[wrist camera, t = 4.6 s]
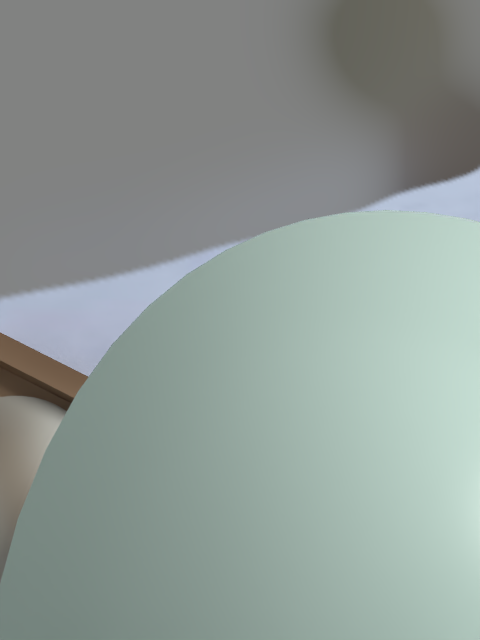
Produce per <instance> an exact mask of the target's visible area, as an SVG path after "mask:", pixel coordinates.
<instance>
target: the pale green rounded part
mask: <svg viewBox="0 0 480 640" xmlns="http://www.w3.org/2000/svg"><path fill="white" fill-rule="evenodd" d="M0 640H480V222H477V221H473V220H469V219H465V218H458V217H452V216H446V215H440V214H433V213H427V212H409V211H390V210H383V211H365V212H348V213H341V214H335V215H330V216H324V217H319V218H313V219H307V220H303V221H300V222H297V223H294V224H290V225H287V226H284V227H281V228H277V229H275V230H271V231H268V232H265V233H263V234H260V235H258V236H256V237H254V238H252V239H249V240H247V241H245V242H243V243H241V244H238V245H236V246H234V247H232V248H230V249H227V250H225V251H224V252H222V253H221V254H219V255H217V256H216V257H214V258H212V259H211V260H209V261H208V262H206V263H204V264H203V265H201V266H200V267H198V268H196V269H195V270H193V271H192V272H190V273H188V274H187V275H186V276H184V277H183V278H182V279H181V280H179V281H178V282H177V283H176V284H175V285H173V286H172V287H171V288H170V289H168V290H167V291H166V292H165V293H164V294H162V295H161V296H160V297H159V298H157V299H156V300H155V301H154V302H153V303H151V304H150V305H149V306H148V307H147V308H146V309H145V310H144V311H143V312H142V313H141V314H140V315H139V317H138V318H137V319H136V320H135V321H134V322H133V323H132V324H131V325H130V326H129V327H128V328H127V329H126V330H125V331H124V332H123V334H122V335H121V336H120V337H119V338H118V339H117V340H116V341H115V342H114V343H113V344H112V345H111V347H110V348H109V350H108V351H107V352H106V354H105V355H104V356H103V358H102V359H101V361H100V362H99V363H98V365H97V366H96V367H95V369H94V370H93V372H92V373H91V374H90V376H89V377H88V378H87V380H86V381H85V383H84V384H83V385H82V387H81V388H80V390H79V391H78V392H77V394H76V396H75V398H74V400H73V401H72V403H71V405H70V407H69V409H68V410H67V412H66V414H65V416H64V418H63V419H62V421H61V423H60V425H59V427H58V429H57V430H56V432H55V434H54V436H53V438H52V439H51V441H50V443H49V445H48V447H47V448H46V450H45V453H44V455H43V458H42V460H41V463H40V465H39V468H38V470H37V473H36V475H35V478H34V480H33V483H32V485H31V487H30V490H29V492H28V495H27V497H26V500H25V502H24V505H23V507H22V510H21V512H20V515H19V517H18V520H17V524H16V527H15V531H14V535H13V538H12V542H11V546H10V549H9V553H8V557H7V560H6V564H5V567H4V571H3V575H2V578H1V582H0Z"/></svg>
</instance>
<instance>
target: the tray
mask: <svg viewBox="0 0 480 640" xmlns="http://www.w3.org/2000/svg"><path fill="white" fill-rule="evenodd" d="M87 378H88V376H86V375H84V374H82V373H80V372H78V371H76V370H74V369H72V368H70V367H68V366H66V365H64V364H62V363H60V362H58V361H56V360H54V359H52V358H50V357H48V356H46V355H44V354H42V353H40V352H38V351H36V350H34V349H32V348H30V347H28V346H26V345H24V344H22V343H20V342H18V341H16V340H14V339H12V338H10V337H8V336H6V335H4V334H2V333H0V582H1V578H2V575H3V571H4V567H5V564H6V560H7V557H8V553H9V549H10V546H11V542H12V538H13V535H14V531H15V527H16V524H17V520H18V517H19V515H20V512H21V510H22V507H23V505H24V502H25V500H26V497H27V495H28V492H29V490H30V487H31V485H32V483H33V480H34V478H35V475H36V473H37V470H38V468H39V465H40V463H41V460H42V458H43V455H44V453H45V450H46V448H47V447H48V445H49V443H50V441H51V439H52V438H53V436H54V434H55V432H56V430H57V429H58V427H59V425H60V423H61V421H62V419H63V418H64V416H65V414H66V412H67V410H68V409H69V407H70V405H71V403H72V401H73V400H74V398H75V396H76V394H77V392H78V391H79V390H80V388H81V387H82V385H83V384H84V383H85V381H86V380H87Z"/></svg>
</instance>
